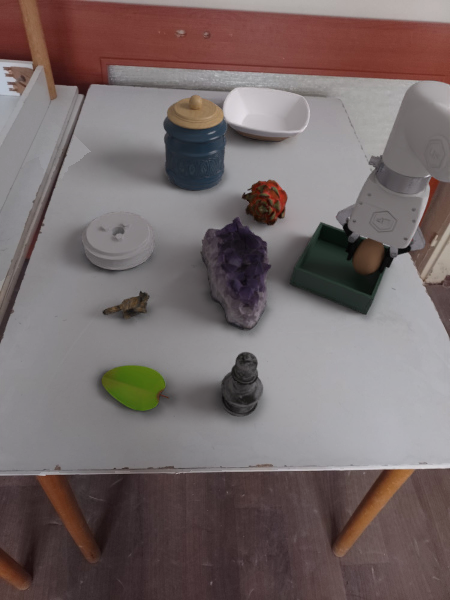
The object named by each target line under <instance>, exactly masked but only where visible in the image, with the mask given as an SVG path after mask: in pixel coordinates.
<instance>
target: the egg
mask: <svg viewBox="0 0 450 600" xmlns="http://www.w3.org/2000/svg"><path fill="white" fill-rule="evenodd" d="M366 238H367V237H366ZM383 245H384V243H381V242H378V241H375V240H372V239H369V238H367V239H365V240H363V241H362V242H361V243H360V244H359V245H358V246H357V247H356V249H355V251H354V253H353V256H352V264H353V268H354V269H355V271H356V272H357V273H359V274H361V275H370V274H372V273H374V272H376V271H377V270H378V269H379V268H380V266H381V264H382V262H383V260H384V254H385V253H384V246H383Z"/></svg>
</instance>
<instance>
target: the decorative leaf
mask: <svg viewBox="0 0 450 600" xmlns="http://www.w3.org/2000/svg"><path fill="white" fill-rule="evenodd" d="M101 385H102V387H103V389H105V391H106V392H107V393H108V394H109V395H110V396H112V398H114V399H115V400H116V401H118V402H119V403H120V404H122V405H123V406H125V407H127V408H129V409H132V410H134V411H139V412H143V411H145V412H146V411H149V410H152V409H154V408H157V406H158V405H159V403H160V396H161V397H163V398H166V399H170V397H169V396H167V395H164V394H161V393H162V392H164V390H165V389H166V386H167V384H166V380H165V378H164V376H163V375H162V374H161V373H160V372H158V371H157V370H155V369H154V368H151V367H149V366H146V365H145V366H144V365H138V364H137V365H136V364H127V365H119V366H116V367H113V368H110V369H108V371H106V372H105V373H104V374H103V375H102V377H101Z"/></svg>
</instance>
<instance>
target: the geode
mask: <svg viewBox="0 0 450 600" xmlns="http://www.w3.org/2000/svg"><path fill="white" fill-rule="evenodd" d="M268 253H269V252H268V242H267V241H265V240H264V239H263V238H262V236H259V235H258V234H256V233H255V232H252V230H251V229H250V226H249V225H246V224H245V225H243V224H242V219H241V217H240V216H236V217H235V218H234V219H233V220H232V221H231V223H228V224H226V225H224V226H223V227H222V228H220V229H217V228H212V227H211V228H207V230H206V232H205V234H204V235H203V238H202V239H201V251H200V256H201V259H202V261H203V263H204V264H205V266H206V269H207V279H208V281H209V287H210V297H211V299H212V300H213V301H214V302H216V303H219V304H220V305H221V307H222V308H223V310H224V313H225V318H226V321H227V323H228V325H231V326H233V327H236V328H238V329H240V330H248V331H250V330H253V328H255V326H256V325H257V324H258V321H260V320H261V317H262V315H263V314H264V312H265V310H266V308H267V306H268V304H267V303H268V300H267V299H268V290H267V279H268V272H269V270H270V269H271V268H272V264H271V263H270V260H269V256H268Z"/></svg>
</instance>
